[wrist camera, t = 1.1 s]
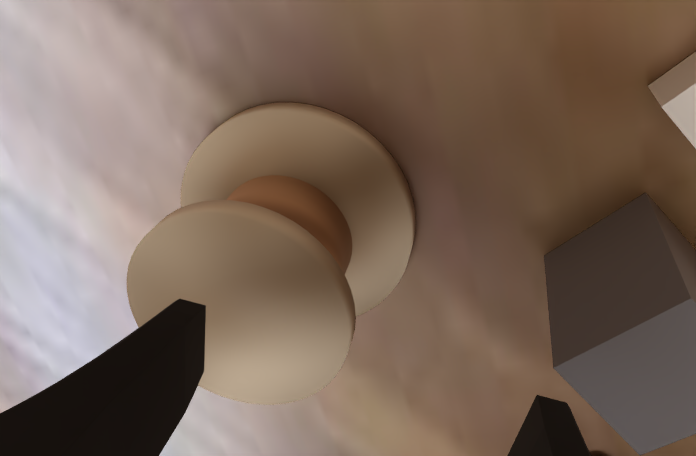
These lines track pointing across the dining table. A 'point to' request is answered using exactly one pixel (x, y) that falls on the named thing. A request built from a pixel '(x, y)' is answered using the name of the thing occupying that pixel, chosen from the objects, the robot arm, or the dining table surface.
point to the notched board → (679, 96)
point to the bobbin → (279, 248)
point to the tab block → (628, 323)
